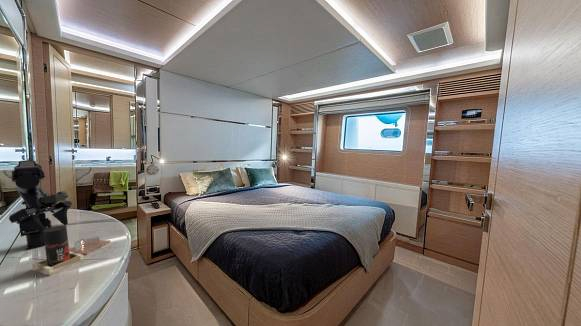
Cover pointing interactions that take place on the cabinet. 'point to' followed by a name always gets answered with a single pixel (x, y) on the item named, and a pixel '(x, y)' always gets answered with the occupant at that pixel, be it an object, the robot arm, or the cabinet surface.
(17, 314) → the cabinet surface
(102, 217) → the cabinet surface
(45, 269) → the beige square frame
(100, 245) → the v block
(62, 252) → the deodorant
